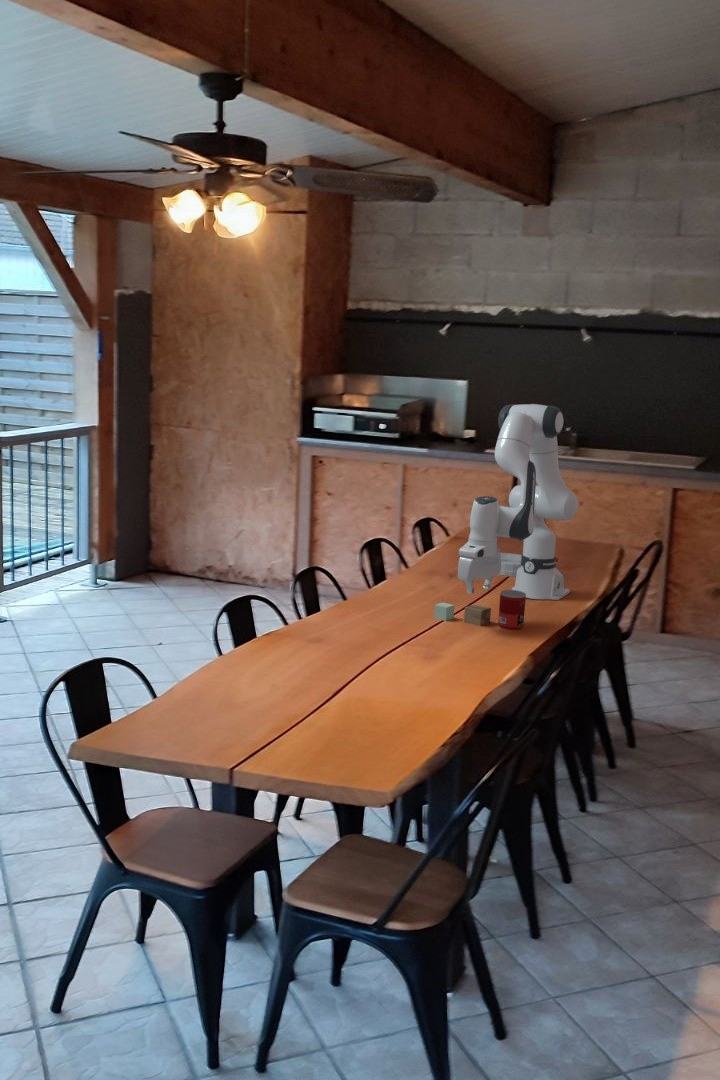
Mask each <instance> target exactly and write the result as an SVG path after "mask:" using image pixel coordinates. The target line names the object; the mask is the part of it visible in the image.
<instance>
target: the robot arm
mask: <svg viewBox="0 0 720 1080" xmlns="http://www.w3.org/2000/svg"><path fill="white" fill-rule="evenodd" d="M497 420H498V421H497V423H498V427H499V429H500V430H499V433H498V436H497V440H496V444H495V448H494V459H495V462H496V463H497V465H498V466H499V467H500V468H501V469H502V470H503V471H505V472H506V473H508V474H510V475H511V476H513V477H515V478H517V479H518V480H519V481H520V485H519V484H518V485H515V486H513V488H512V489H511V491H510V492H509V495H508V505H509V506H503V505H499V500H498V499H497V498H496V497H493V496H488V495H484V496H478V497H476V498H474V499H473V503H472V507H471V512H470V518H469V527H470V533H469V535H468V539H467V540H468V541H467V542H466V543H465V544H464V545H463V546H462V547H460V548H459V549H458V556H460V557H459V559H458V562H457V563H458V565H457V566H458V567H457V577H458V580H460V581H463V582H464V583H465V587H466V593H467V594H469V595H471V594H472V595H473V594H474V593H475V587H474V586H473V584H474V581H476V580H480V579H484V578H485V580H484V583H483V584H482V589H483V590H485V591H487V590H490V589H491V584H492V581H493V580H494V576H498V575H497V574H499V573H500V571H501V554H500V553H501V552H500V551H501V550H500V548H499V547H498V545H497V544H498V543H497V542H498V537H502V538H510V539H512V540H517V541H519V542H520V541H523V546H522V547H523V549H522V554H521V555H522V556H521V567H520V568H519V569H518V570H517V576H516V577H515V583H514V584H515V585H514V586H512V587H511V590H516V591H521V592H524V593H525V594H526V598H527V599H532V600H555V601H558V600H560V599H562V598H564V597H566V596H567V595H568V594H569V593H570V592H571V590H570V589H569V588H566V587H564V586H565V578H564V575H563V574H562V573H561V572H560V570H558V569H557V563H559V562H560V560H561V559H560V556H555V553H556V552H555V551H556V540H557V538H556V535H555V532H553V531H552V530H551V529H550V528H549V527H548V526H547V524H546V523H545V519H547V520H554V521H569V520H571V519H574V517H575V516H576V514H577V513H578V509H579V500H578V498H577V495H576V494H575V493H574V492H573V491H571V490H570V489H569V487H568V486H567V485H566V483H565V481H564V479H563V477H562V474H561V472H560V467H559V454H558V453H559V452H558V451H559V449H558V437H557V436H558V435H559V434H560V433H561V432H562V430H563V428H564V414H563V412H562V410H561V409H560V408H559V407H558V406H553V405H545V404H537V403H530V404H527V403H526V404H524V403H523V404H515V403H512V404H507V405H505V406H503V408H501V410H500V411H499V413H498V419H497ZM536 483H537V484H536ZM570 594H571V593H570Z"/></svg>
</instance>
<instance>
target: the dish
mask: <svg viewBox="0 0 720 1080" xmlns="http://www.w3.org/2000/svg"><path fill="white" fill-rule="evenodd" d="M499 553H500V554H501V571H500V573H499V575H506V576H505V577H511V576H517V570H518V569H519V568H520V567H521V556H522V554H516V553H509V552H507V553H506V552H499ZM499 575H498V576H499ZM507 575H508V576H507Z"/></svg>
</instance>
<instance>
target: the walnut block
mask: <svg viewBox="0 0 720 1080" xmlns="http://www.w3.org/2000/svg"><path fill="white" fill-rule="evenodd" d="M491 611H492V607H490V606H489V607H488V606H485V605H480V604H471V605H468V606H465V607H464V614H463V616H464V617H463V623H465V624H470V625H473V626H478V627H480V626H484V625H487V624H490V623H491V616H492V615H491V614H492V613H491Z"/></svg>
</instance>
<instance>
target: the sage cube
mask: <svg viewBox="0 0 720 1080" xmlns="http://www.w3.org/2000/svg"><path fill="white" fill-rule="evenodd" d="M433 612H434V614H433V616H434V617H433V618H434V619H437V620H440V621H444V622H447V621H450V620H453V619H454V618H455V616H454V615H455V604H451V603H447V602H439V603H436V604H435V605H434V611H433Z"/></svg>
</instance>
